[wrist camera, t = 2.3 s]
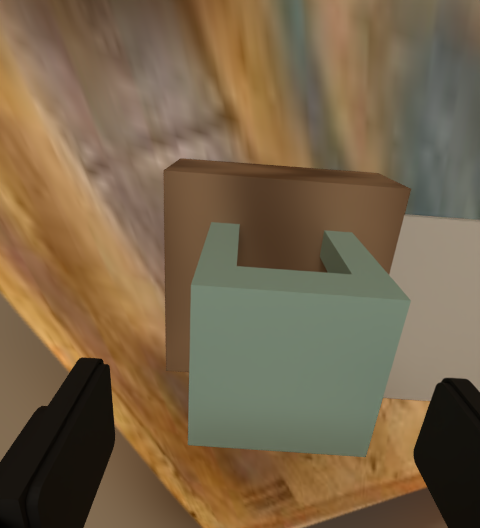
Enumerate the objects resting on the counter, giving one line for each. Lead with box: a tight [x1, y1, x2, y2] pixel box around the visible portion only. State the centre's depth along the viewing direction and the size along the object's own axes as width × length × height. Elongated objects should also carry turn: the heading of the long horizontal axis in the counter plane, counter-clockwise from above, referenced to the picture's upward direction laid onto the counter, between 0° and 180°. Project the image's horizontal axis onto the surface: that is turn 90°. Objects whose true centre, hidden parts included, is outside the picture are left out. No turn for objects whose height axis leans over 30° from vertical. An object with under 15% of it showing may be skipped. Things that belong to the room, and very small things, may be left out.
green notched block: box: [188, 222, 411, 457], centre depth 14 cm, size 6×6×6 cm
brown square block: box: [164, 159, 411, 372], centre depth 18 cm, size 10×10×4 cm
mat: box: [383, 214, 480, 401], centre depth 21 cm, size 12×12×1 cm
